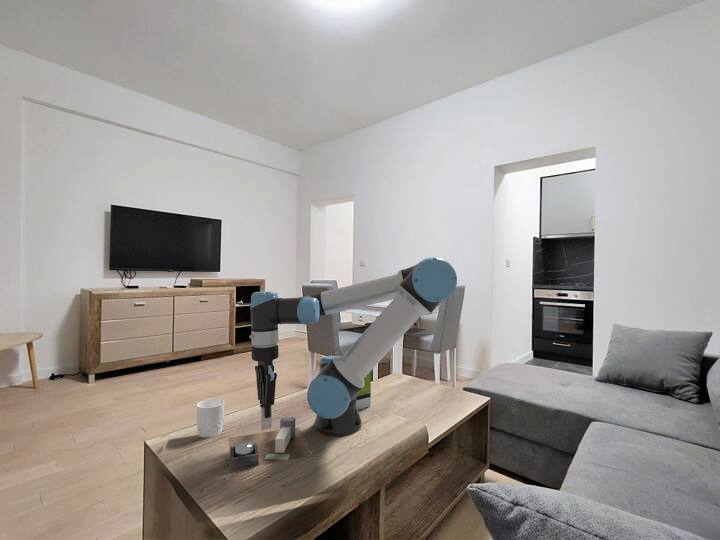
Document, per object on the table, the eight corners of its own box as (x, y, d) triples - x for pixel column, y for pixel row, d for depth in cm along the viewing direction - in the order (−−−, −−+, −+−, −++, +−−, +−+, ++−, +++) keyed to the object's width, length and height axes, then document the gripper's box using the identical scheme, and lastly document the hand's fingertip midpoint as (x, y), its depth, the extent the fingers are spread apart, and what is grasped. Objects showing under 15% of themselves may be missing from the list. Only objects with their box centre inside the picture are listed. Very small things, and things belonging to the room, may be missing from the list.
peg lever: (282, 432, 102) (282, 416, 102) (296, 432, 102) (296, 416, 102) (271, 452, 90) (271, 434, 90) (288, 452, 90) (288, 434, 90)
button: (252, 450, 90) (252, 439, 90) (253, 459, 86) (253, 447, 86) (234, 453, 88) (235, 442, 88) (235, 462, 84) (235, 450, 84)
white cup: (213, 443, 99) (214, 408, 99) (189, 440, 100) (190, 406, 100) (229, 431, 106) (229, 399, 107) (206, 429, 108) (207, 397, 108)
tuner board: (298, 430, 107) (299, 418, 107) (312, 460, 90) (312, 445, 90) (229, 441, 100) (229, 428, 100) (229, 475, 82) (229, 460, 82)
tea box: (328, 400, 134) (329, 362, 135) (349, 395, 140) (350, 359, 141) (349, 412, 122) (349, 371, 122) (371, 406, 128) (371, 367, 128)
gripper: (245, 343, 101) (247, 423, 100) (258, 350, 90) (260, 440, 89) (270, 340, 105) (271, 417, 104) (285, 346, 94) (287, 432, 94)
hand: (266, 427), depth 97 cm, fingers closed
